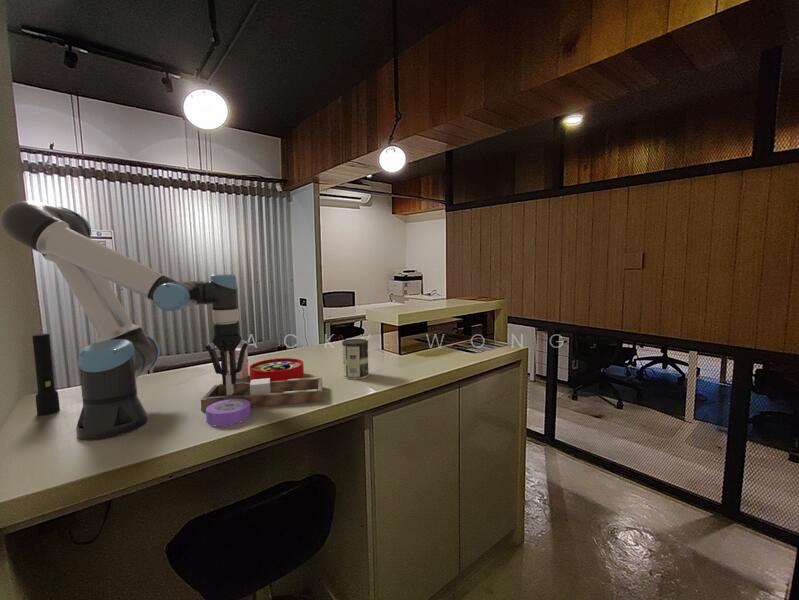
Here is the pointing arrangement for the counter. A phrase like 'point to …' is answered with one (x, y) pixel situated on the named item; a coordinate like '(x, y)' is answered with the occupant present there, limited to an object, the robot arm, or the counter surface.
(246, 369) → the ink cartridge box
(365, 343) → the coffee can
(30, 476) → the counter surface
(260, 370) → the toy clock
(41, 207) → the robot arm
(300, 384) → the wooden tray
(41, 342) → the flashlight
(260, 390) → the white cube
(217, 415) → the masking tape
